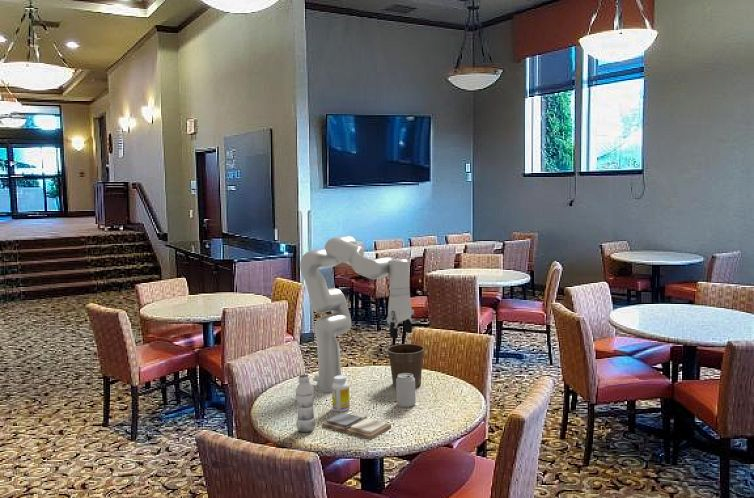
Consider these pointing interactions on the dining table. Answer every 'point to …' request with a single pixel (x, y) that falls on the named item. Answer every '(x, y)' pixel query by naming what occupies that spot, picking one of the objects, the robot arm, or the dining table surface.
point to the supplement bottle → (340, 394)
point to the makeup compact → (356, 425)
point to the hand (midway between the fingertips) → (401, 335)
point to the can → (405, 390)
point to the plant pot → (406, 361)
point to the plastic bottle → (305, 405)
